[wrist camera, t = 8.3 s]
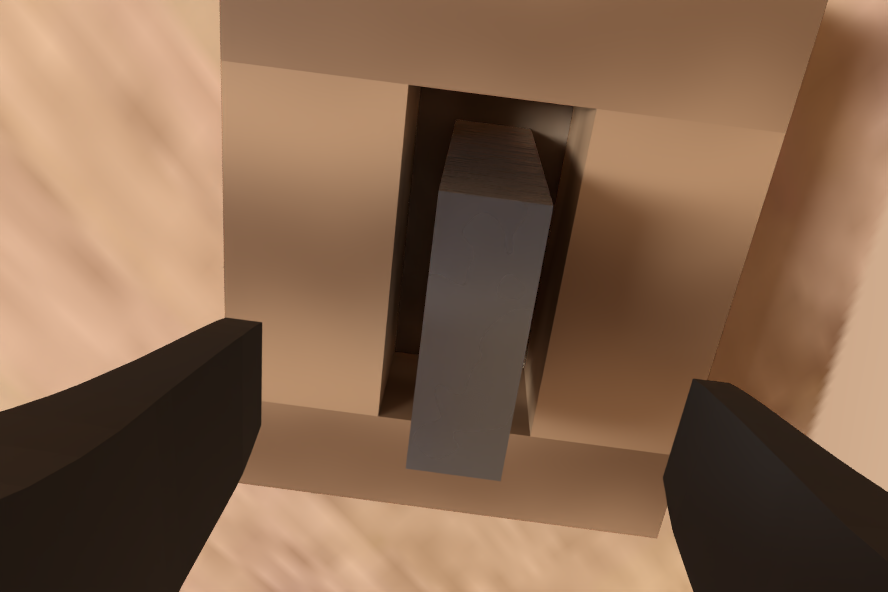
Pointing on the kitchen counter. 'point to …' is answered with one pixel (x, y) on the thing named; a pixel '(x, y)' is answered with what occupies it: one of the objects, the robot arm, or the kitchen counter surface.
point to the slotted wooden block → (569, 246)
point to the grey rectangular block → (479, 300)
